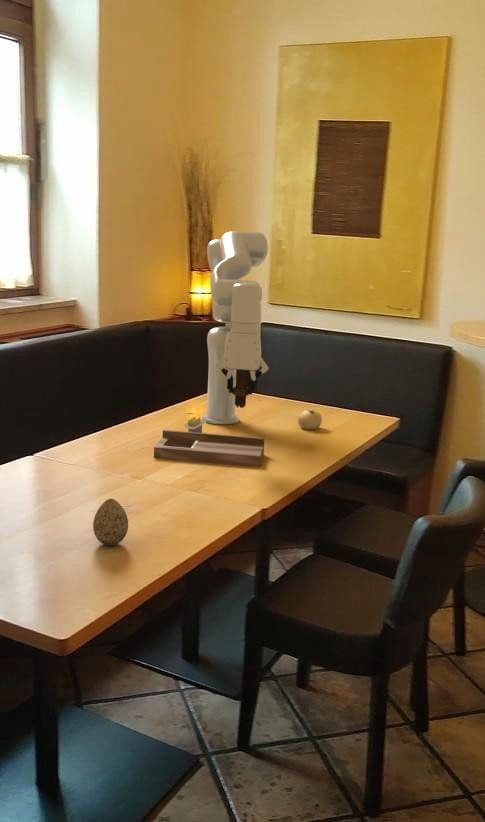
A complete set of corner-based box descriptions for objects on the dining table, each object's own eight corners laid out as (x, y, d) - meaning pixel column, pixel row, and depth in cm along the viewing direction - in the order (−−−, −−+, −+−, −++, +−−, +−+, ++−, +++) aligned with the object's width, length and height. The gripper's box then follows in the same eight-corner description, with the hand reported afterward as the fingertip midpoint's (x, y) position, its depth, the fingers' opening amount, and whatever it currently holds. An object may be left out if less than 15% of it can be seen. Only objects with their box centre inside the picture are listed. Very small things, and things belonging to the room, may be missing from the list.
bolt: (251, 405, 230) (253, 353, 227) (249, 409, 226) (252, 356, 222) (230, 404, 231) (233, 352, 228) (228, 408, 226) (231, 355, 223)
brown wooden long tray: (162, 446, 240) (163, 429, 239) (263, 454, 237) (264, 438, 236) (153, 457, 229) (154, 440, 227) (259, 466, 226) (260, 449, 224)
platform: (163, 443, 245) (164, 422, 243) (188, 429, 261) (188, 410, 260) (200, 448, 241) (201, 427, 240) (222, 434, 258) (223, 414, 256)
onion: (292, 427, 270) (293, 406, 268) (308, 424, 275) (310, 403, 274) (309, 432, 264) (311, 411, 263) (326, 429, 270) (327, 408, 268)
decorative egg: (85, 545, 167) (85, 499, 165) (108, 534, 173) (109, 490, 171) (112, 554, 163) (113, 507, 161) (134, 543, 169) (135, 498, 167)
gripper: (211, 328, 220) (208, 393, 225) (273, 332, 219) (269, 398, 223) (215, 324, 228) (212, 388, 232) (276, 328, 226) (272, 392, 230)
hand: (240, 392), depth 227 cm, fingers closed on bolt, 5 cm apart
